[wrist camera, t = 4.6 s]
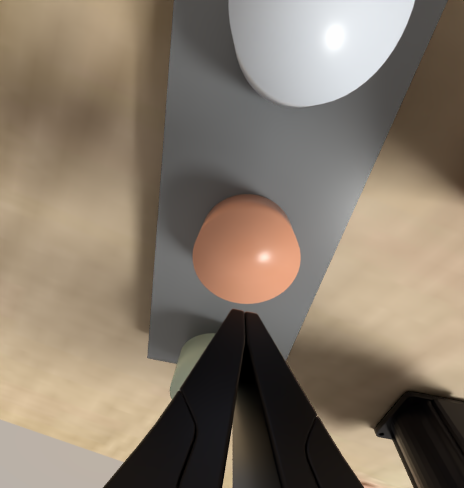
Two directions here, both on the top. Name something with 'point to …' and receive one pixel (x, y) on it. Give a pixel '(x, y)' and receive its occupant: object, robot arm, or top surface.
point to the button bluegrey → (314, 45)
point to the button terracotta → (246, 250)
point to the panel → (260, 167)
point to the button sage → (189, 359)
